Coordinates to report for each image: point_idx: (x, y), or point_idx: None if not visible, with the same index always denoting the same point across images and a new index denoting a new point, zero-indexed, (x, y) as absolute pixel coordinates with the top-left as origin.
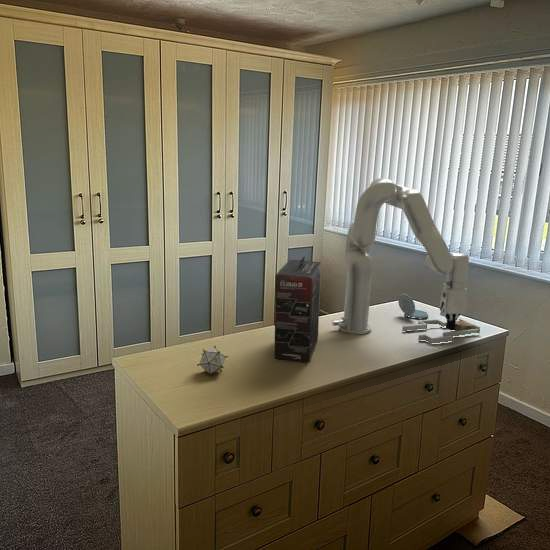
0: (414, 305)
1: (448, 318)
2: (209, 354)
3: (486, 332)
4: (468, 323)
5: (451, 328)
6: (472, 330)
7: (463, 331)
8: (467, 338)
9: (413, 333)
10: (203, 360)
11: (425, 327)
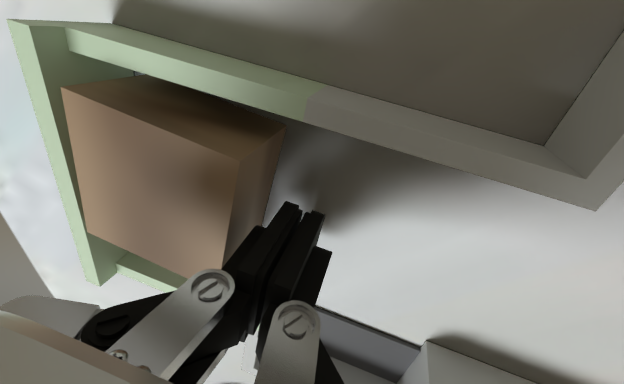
0: None
1: (326, 360)
2: None
3: (15, 50)
4: (89, 172)
5: (319, 225)
6: (144, 49)
7: (275, 86)
8: (284, 18)
9: (611, 380)
10: None
11: (439, 368)
